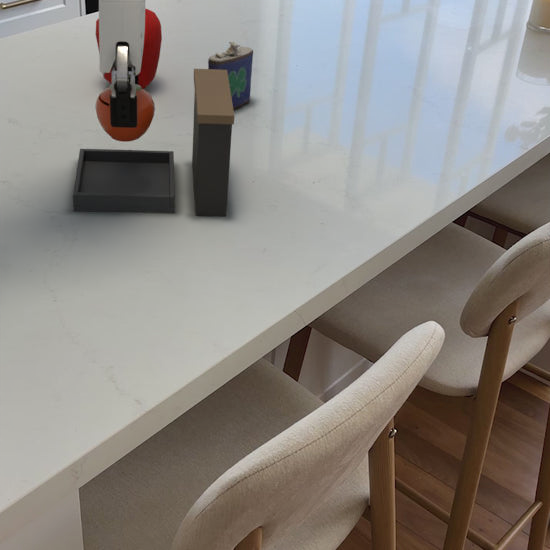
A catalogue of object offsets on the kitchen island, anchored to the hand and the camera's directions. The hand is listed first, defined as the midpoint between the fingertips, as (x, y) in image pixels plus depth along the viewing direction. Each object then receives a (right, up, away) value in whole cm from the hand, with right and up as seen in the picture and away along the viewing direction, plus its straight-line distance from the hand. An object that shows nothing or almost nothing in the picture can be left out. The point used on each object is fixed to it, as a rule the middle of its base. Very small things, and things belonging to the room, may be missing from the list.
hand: (125, 111), depth 112 cm
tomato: (0, -3, +2) cm, 4 cm away
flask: (+12, +6, +30) cm, 33 cm away
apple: (-5, +10, +34) cm, 36 cm away
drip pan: (-1, -9, +6) cm, 11 cm away
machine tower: (+10, -9, +8) cm, 16 cm away
